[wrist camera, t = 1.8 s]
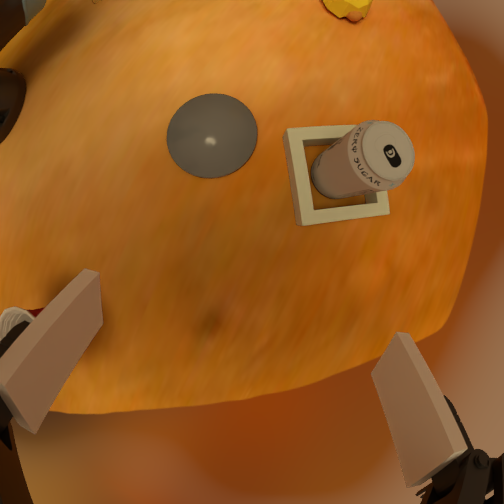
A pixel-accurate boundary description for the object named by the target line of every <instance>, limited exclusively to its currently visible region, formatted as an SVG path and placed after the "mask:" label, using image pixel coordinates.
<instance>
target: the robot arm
mask: <svg viewBox="0 0 504 504" xmlns="http://www.w3.org/2000/svg"><path fill="white" fill-rule="evenodd" d="M45 3H46V0H0V51H1V50H2V49H3V48H4V47H5V46H6V44H7V43H8V42H9V41H10V40H11V39H12V38H13V37H14V36H15V35H16V34H17V33H18V32H19V31H20V30H21V29H22V28H23V27H24V26H27V25H28V23H29V21H30V20H31V19H32V18H33V17H34V16H36V15H37V14H38V13H39V12H40V11H41V10H42V9H43V7H44V6H45ZM25 91H26V83H25V79H24V76H23V75H22V74H21V73H19V72H17V71H16V70H14V69H10V68H0V143H1V142H2V141H3V140H4V138H5V137H6V136H7V135H8V133H9V132H10V130H11V129H12V127H13V125H14V124H15V122H16V120H17V118H18V115H19V113H20V111H21V108H22V105H23V102H24V97H25ZM102 325H103V315H102V304H101V290H100V273H99V272H96V271H92V270H89V269H84V270H82V271H81V272H80V273H79V274H78V275H77V276H76V277H75V278H74V279H73V280H72V281H71V282H70V283H69V284H68V285H67V286H66V287H65V288H64V289H63V290H62V291H61V292H60V293H59V294H58V295H57V296H56V297H55V298H54V299H53V300H52V301H51V302H50V303H49V304H48V305H47V306H46V307H45V308H44V309H43V310H42V311H41V313H40V314H39V315H38V316H37V317H36V318H35V319H34V320H33V321H32V322H31V323H30V322H28V321H25V320H24V321H23V322H21V323H19V324H17V325H15V326H14V327H13V328H12V329H11V330H10V331H9V332H8V333H7V334H6V337H4V338H3V339H2V340H1V341H0V504H33V501H32V499H31V496H30V493H29V490H28V487H27V484H26V481H25V478H24V475H23V471H22V468H21V464H20V460H19V457H18V453H17V448H16V444H15V439H14V435H13V429H12V425H11V423H10V420H11V419H12V417H14V418H15V420H16V421H17V422H18V424H19V425H20V426H22V427H23V428H25V429H27V430H28V431H30V432H32V433H33V434H36V432H37V431H38V429H39V427H40V425H41V423H42V421H43V419H44V418H45V416H46V414H47V412H48V410H49V409H50V407H51V405H52V403H53V402H54V400H55V398H56V397H57V395H58V393H59V392H60V390H61V388H62V386H63V385H64V383H65V382H66V380H67V378H68V377H69V375H70V373H71V372H72V370H73V369H74V367H75V365H76V364H77V362H78V361H79V359H80V358H81V356H82V354H83V353H84V351H85V350H86V348H87V347H88V345H89V344H90V342H91V341H92V339H93V338H94V336H95V335H96V333H97V332H98V330H99V329H100V327H101V326H102ZM371 375H372V378H373V381H374V384H375V387H376V390H377V393H378V395H379V398H380V401H381V404H382V407H383V410H384V413H385V416H386V419H387V422H388V425H389V428H390V432H391V435H392V438H393V441H394V444H395V448H396V451H397V454H398V458H399V461H400V464H401V468H402V472H403V476H404V479H405V483H406V487H407V488H409V487H413V486H417V485H421V484H422V483H424V482H425V481H427V480H428V479H430V478H432V483H430V484H429V485H427V486H426V487H424V488H423V489H421V490H420V491H418V492H417V494H416V496H418V495H420V494H422V493H423V492H425V491H426V492H425V494H423V495H422V496H421V497H420V498H422V501H421V503H420V504H504V453H503V454H502V455H501V456H500V457H498V458H489V456H488V455H487V453H485V452H484V451H483V450H480V449H475V450H474V448H473V446H472V444H471V442H470V440H469V438H468V435H467V433H466V431H465V429H464V426H463V425H462V423H461V422H460V418H459V416H458V415H457V412H456V410H455V408H454V406H453V404H452V403H451V402H450V400H449V399H448V398H447V397H446V396H445V395H444V396H443V394H442V392H441V390H440V388H439V386H438V385H437V383H436V381H435V379H434V377H433V375H432V373H431V371H430V370H429V368H428V366H427V364H426V362H425V360H424V359H423V357H422V355H421V353H420V352H419V350H418V348H417V346H416V345H415V343H414V341H413V339H412V338H411V336H410V334H409V333H402V332H396V333H395V335H394V337H393V339H392V340H391V342H390V344H389V345H388V347H387V349H386V350H385V352H384V354H383V355H382V357H381V358H380V360H379V362H378V363H377V365H376V366H375V368H374V370H373V371H372V373H371ZM492 490H494V495H493V496H492V497H490V498H489V499H487V500H486V499H485V495H486V494H488V493H489V492H491V491H492Z"/></svg>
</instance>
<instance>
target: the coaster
mask: <svg viewBox="0 0 504 504" xmlns="http://www.w3.org/2000/svg"><path fill="white" fill-rule="evenodd" d="M256 140H257V126H256V122H255V119H254V117H253V115H252V113H251V112H250V110H249V109H248V108H247V107H246V106H245V105H244V104H243V103H242V102H240V101H239V100H237V99H235V98H233V97H231V96H228V95H224V94H205V95H201V96H198V97H195V98H193V99H191V100H189V101H188V102H186V103H185V104H184V105H182V106H181V107H180V108H179V109H178V110H177V111H176V113H175V114H174V116H173V117H172V119H171V121H170V124H169V127H168V131H167V145H168V149H169V152H170V154H171V156H172V158H173V160H174V161H175V162H176V163H177V165H178V166H179V167H181V168H182V169H183V170H184V171H186V172H188V173H189V174H192V175H194V176H197V177H201V178H219V177H223V176H226V175H229V174H231V173H233V172H235V171H236V170H238V169H239V168H240V167H242V166H243V165H244V164H245V163H246V162H247V160H248V159H249V158H250V156H251V155H252V153H253V151H254V148H255V145H256Z"/></svg>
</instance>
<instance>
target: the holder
mask: <svg viewBox="0 0 504 504" xmlns="http://www.w3.org/2000/svg"><path fill="white" fill-rule="evenodd" d="M356 126H357V125H336V126H315V127H301V128H288V129H286V131H285V133H284V135H283V142H284V148H285V154H286V160H287V166H288V172H289V178H290V185H291V191H292V198H293V204H294V211H295V218H296V225H300V226H305V225H312V224H319V223H327V222H334V221H341V220H349V219H356V218H364V217H371V216H379V215H387V214H390V211H389V203H388V195H387V190H386V191H380V192H374V193H368V194H365V201H366V204H360V205H352V206H343V207H335V208H327V209H319V210H314V209H313V202H312V195H311V188H310V182H309V176H308V170H307V164H306V158H305V152H304V146H317V145H331V144H334V143H335V142H336V141H338V140H339V139H340V138H342V137H343V136H344V135H345V134H347V133H348V132H349V131H351V130H352V129H353V128H355V127H356Z"/></svg>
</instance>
